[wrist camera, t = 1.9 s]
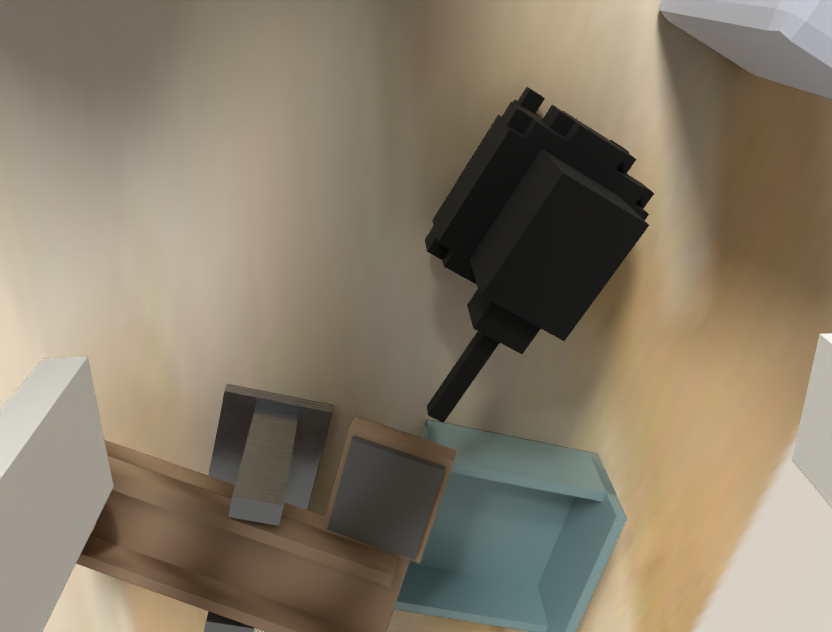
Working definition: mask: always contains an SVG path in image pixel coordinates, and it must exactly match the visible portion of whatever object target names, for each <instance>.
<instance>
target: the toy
mask: <svg viewBox="0 0 832 632" xmlns="http://www.w3.org/2000/svg"><path fill="white" fill-rule="evenodd" d="M544 99H545V98H543V97H542V96H541V95H539V94H538V93H536V92H535V91H533V90H531V89H530V88H528V87H527V88H526V89H525V91H524V92H523V94H522V95H521V97H520V99H519V100H518V101H516V100H514V101H513V103H512V102H511V103H510V105H509V106H508V108H507V109H506V111H505V113H504V114H503V116H502V117H501V116H500V115H498V116H497V118H496V119H495V121H494V123H493V124H492V126H491V127H490V129H489V131H488V132H487V134H486V135H485V137H484V139H483V140H482V142H481V143H480V145H479V147H478V148H477V150H476V151H475V153H474V155H473V156H472V158H471V160H470V161H469V163H468V164H467V166H466V168H465V169H464V171H463V172H462V174H461V176H460V177H459V179H458V180H457V182H456V184H455V185H454V187H453V188H452V190H451V192H450V193H449V195H448V196H447V198H446V200H445V201H444V203H443V204H442V206H441V208H440V209H439V211H438V212H437V214H436V216H435V217H434V219H433V224H434V226H433V228H432V229H431V231H430V233H429V234H428V236H427V237H426V239H425V243H426V248H427V252H429V253H431V254H432V255H434V256H436V257H438V258H440V259H442V260H443V264H444V267H446V268H448V269H450V270H451V271H453V272H455V273H457V274H459V275H461V276H462V277H464V278H466V279H468V280H470V281H472V282H473V283H475V284H477V285H478V290H477V291H476V293H475V294H474V296H473V297H472V299H471V300H470V302H469V303H468V305H467V306H468V310H469V314H470V317H471V321H472V325H473V328H474V329H475V330H477V331H478V332H477V333H476V335H475V336H474V338H473V339H472V341H471V342H470V344H469V345H468V346H467V348H466V349H465V351H464V352H463V354H462V355H461V357H460V358H459V360H458V361H457V363H456V364H455V366H454V367H453V368H452V370H451V371H450V373H449V374H448V376H447V377H446V379H445V380H444V382H443V383H442V385H441V386H440V387H439V389H438V390H437V392H436V393H435V395H434V396H433V398H432V399H431V401H430V402H429V404H428V405H427V411H428V415H429V416H431V417H433V418H435V419H437V420H439V421H441V422H443V423H444V422H445V420H446V419H447V417H448V416H449V414H450V413H451V412H452V410H453V409H454V407H455V406H456V404H457V403H458V401H459V400H460V399H461V397H462V396H463V394H464V393H465V391H466V390H467V389H468V387H469V386H470V384H471V383H472V381H473V380H474V379H475V377H476V376H477V374H478V373H479V371H480V370H481V369H482V367H483V366H484V364H485V363H486V361H487V360H488V359H489V357H490V356H491V354H492V353H493V351H494V350H495V349H496V347H497V346H498V344H499V343H502V344H504V345H506V346H507V347H509V348H511V349H513V350H515V351H517V352H519V353H521V354H523V353H524V351H525V350H526V348H527V347H528V346H529V344H530V343H531V341H532V340H533V339H534V337H535V336H536V334H537V333H538V332H539V330H540V329H543V330H545V331H547V332H548V333H550V334H552V335H554V336H556V337H558V338H559V339H561V340H563V341H565V339H566V338H567V337H568V335H569V334H570V333H571V331H572V330H573V328H574V327H575V326H576V324H577V323H578V322H579V320H580V319H581V318H582V316H583V315H584V313H585V312H586V311H587V309H588V308H589V307H590V305H591V304H592V303H593V301H594V300H595V298H596V297H597V296H598V294H599V293H600V292H601V290H602V289H603V288H604V286H605V285H606V283H607V282H608V281H609V279H610V278H611V277H612V275H613V274H614V273H615V271H616V270H617V268H618V267H619V266H620V264H621V263H622V262H623V260H624V259H625V257H626V256H627V255H628V253H629V252H630V251H631V249H632V248H633V247H634V245H635V244H636V242H637V241H638V240H639V238H640V237H641V236H642V234H643V233H644V232H645V230H646V229H647V227H648V226H649V225H648V224H647V223H646V222H645V221H644V220H645V219H646V218H647V216H648V215H649V214H648V213H647V212H646V211H645V210H644V209H643V208H644V207H645V206H646V204H647V203H648V201H649V200H650V199H651V197H652V196H653V195H654V193H653V192H652V191H651V190H649V189H648V188H647V187H646V186H645V185H643V184H642V183H640V182H639V181H637V180H636V179H634V178H632V177H631V176H629V175H628V174H627V172H628V170H629V169H630V168H631V166H632V165H633V163H634V162H635V161H636V159H635V158H634V157H632V156H631V155H630V154H629V152H628V151H627V150H626V149H624V148H623V147H621V146H620V145H618V144H617V143H615V142H613V141H612V140H610V141H609V140H608V139H607V138H605V137H603V136H602V135H600V134H599V133H597V132H596V131H594V130H592V129H591V128H589V127H588V126H586V125H585V124H583V123H581V122H580V121H578V120H577V119H575V118H573V117H572V116H570V115H569V114H567V113H566V112H564V111H561V110H560V109H558V108H557V107H555V106H553V105H552V106H551V107H550V109H549V110H548V112H547V113H546V115H545V116H544V118H543V119H542V118H540V117H538V116H537V115H535V113H536V112H537V110H538V108H539V107H540V105H541V104H542V102H543V101H544Z"/></svg>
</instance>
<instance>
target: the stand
mask: <svg viewBox="0 0 832 632" xmlns="http://www.w3.org/2000/svg"><path fill="white" fill-rule="evenodd" d="M332 408H333V405H329V404H324V403H319V402H314V401H309V400H304V399H299V398H294V397H289V396H284V395H279V394H274V393H269V392H264V391H260V390H255V389H250V388H245V387H240V386H235V385H230V384H227V386H226V389H225V393H224V398H223V403H222V409H221V414H220V419H219V424H218V429H217V435H216V440H215V445H214V450H213V455H212V461H211V466H210V471H209V476H210V477H213V478H216V479H218V480H221V481H224V482H227V483H230V484H233V485H235V488H234V492H233V496H232V500H231V505H230V510H229V515H228V517H231V518H237V519H243V520H248V521H254V522H260V523H266V524H271V525H277V526H279V524H280V520H281V515H282V511H283V507H284V502H285V503H288V504H291V505H294V506H297V507H299V508H302V509H305V510H307V508H308V505H309V501H310V497H311V493H312V489H313V485H314V481H315V477H316V473H317V469H318V465H319V462H320V458H321V454H322V450H323V446H324V442H325V438H326V434H327V430H328V426H329V423H330V419H331V415H332ZM253 631H254V627H252V626H249V625H246V624H243V623H240V622H238V621H235V620H232V619H229V618H227V617H224V616H221V615H218V614H215V613H213V612H210V611H209V612H208V616H207V620H206V625H205V630H204V632H253Z"/></svg>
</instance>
